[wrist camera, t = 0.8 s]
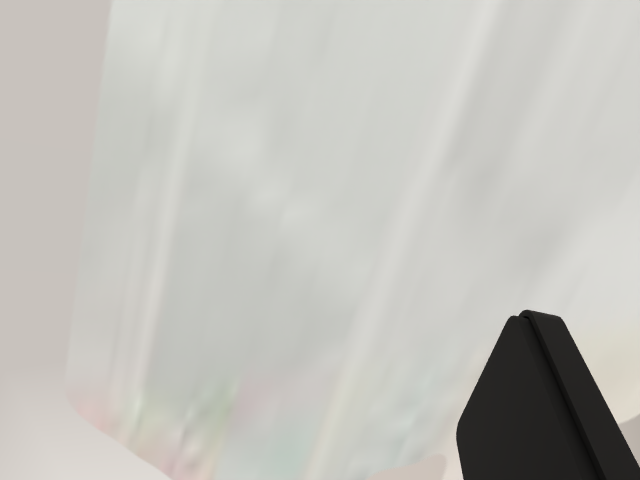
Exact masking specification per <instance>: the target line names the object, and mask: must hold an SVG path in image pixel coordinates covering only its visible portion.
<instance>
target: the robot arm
mask: <svg viewBox="0 0 640 480" xmlns="http://www.w3.org/2000/svg"><path fill="white" fill-rule="evenodd" d="M456 440H457V446H458V452H459V457H460V463H461V468H462V473H463V479H464V480H640V467H639V465H638V463H637V461H636V460H635V458H634V456H633V454H632V452H631V450H630V448H629V446H628V444H627V442H626V440H625V439H624V436H623V435H622V433H621V431H620V429H619V427H618V425H617V423H616V421H615V419H614V417H613V415H612V413H611V411H610V409H609V408H608V406H607V404H606V402H605V400H604V398H603V396H602V394H601V392H600V390H599V388H598V386H597V384H596V383H595V381H594V379H593V377H592V375H591V373H590V371H589V369H588V367H587V365H586V363H585V361H584V359H583V358H582V356H581V354H580V352H579V350H578V348H577V346H576V344H575V342H574V340H573V338H572V336H571V334H570V333H569V331H568V329H567V327H566V325H565V323H564V321H563V320H562V319H561V317H558V316H555V315H550V314H545V313H541V312H536V311H531V310H524V311H522V312H521V313H520V314H519V316H511V317H510V318H509V319H508V320H507V322H506V324H505V326H504V328H503V330H502V332H501V334H500V337H499V339H498V341H497V343H496V345H495V347H494V349H493V351H492V353H491V355H490V357H489V359H488V361H487V363H486V366H485V368H484V370H483V372H482V374H481V376H480V378H479V380H478V382H477V384H476V386H475V388H474V390H473V393H472V395H471V397H470V399H469V401H468V403H467V405H466V407H465V409H464V411H463V413H462V415H461V417H460V420H459V422H458V426H457V432H456Z"/></svg>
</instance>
